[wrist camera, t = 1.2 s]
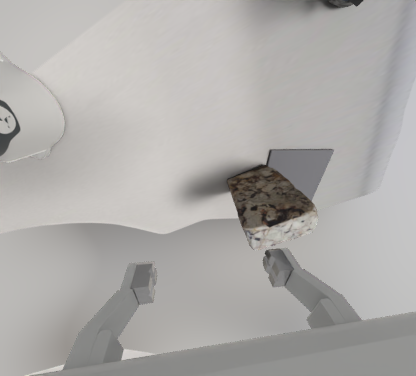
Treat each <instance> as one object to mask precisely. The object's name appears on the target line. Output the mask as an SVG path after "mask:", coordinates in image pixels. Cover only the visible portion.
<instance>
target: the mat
mask: <svg viewBox="0 0 416 376" xmlns="http://www.w3.org/2000/svg"><path fill="white" fill-rule="evenodd" d="M333 152H334V150H333V149H299V150H271V151H270V155H269V159H268V164H267V166H268V167H270V168H274V169H275V170H277V171H278V172H279V173H281V174H282V175H283V176H284V177H285V178H287V179H288V180H289V181H290V182H291V183H292V184H293V185H294V187H295V188H296V189H298V190H300V191H301V192H302V193H303V194H304V195H305V196H306V197H307V198H309V199H310V200H311V201H312V199H313V196H314V194H315V192H316V190H317V187H318V185H319V183H320V181H321V178H322V176H323V174H324V172H325V170H326V167H327V165H328V163H329V161H330V158H331V156H332V154H333Z"/></svg>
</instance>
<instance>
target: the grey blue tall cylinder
mask: <svg viewBox="0 0 416 376" xmlns="http://www.w3.org/2000/svg"><path fill="white" fill-rule="evenodd" d="M328 1H329V2H330V3H332V4H333V5H335V6H337V7H348V6H351V5H353V4H354V5H355V6H358V5H359V4H360V3H361V2H362V1H363V0H328Z"/></svg>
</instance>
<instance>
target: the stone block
mask: <svg viewBox="0 0 416 376" xmlns="http://www.w3.org/2000/svg"><path fill="white" fill-rule="evenodd" d="M227 183H228V186H229V189H230V192H231V195H232V198H233V201H234V203H235V206H236V209H237V212H238V217H239V220H240V223H241V225H242V227H243V230H244V232H245V234H246V237H247V240H248V242H249V245H250V246H251V247H252V249H253V250H260V249H263V248H266V247H269V246H273V245H276V244H278V243H281V242H284V241H287V240H292V239H295V238H298V237H301V236H303V235H307V234H309V233H312V232H313V230H314V228H315V227H316V224H317V219H318V215H317V209H316V207H315V205H314V204H313V203H312V201H311V200H310V199H309V198H307V197H306V196H305V195H304V194H303V193H302V192H301V191H300V190H298V189H296V188H295V187H294V185H293V184H292V183H291V182H290V181H289V180H288V179H287V178H285V177H284V176H283V175H282V174H281V173H279V172H278V171H277V170H275V169H274V168H270V167H268V166H266V165H264V166H260V167H258V168H256V169H253V170H251V171H248V172H245V173H243V174H240V175H237V176H235V177H233V178H230V179H228V180H227Z"/></svg>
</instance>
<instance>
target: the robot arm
mask: <svg viewBox="0 0 416 376" xmlns="http://www.w3.org/2000/svg"><path fill="white" fill-rule="evenodd" d="M64 129H65V121H64V116H63V113H62V110H61V108H60V106H59V104H58V102H57V100H56V99H55V97H54V96H53V95H52V93H51V92H50V91H49V90H48V89H47V88H46V87H45V86H44V85H43V84H42V83H41V82H40V81H39V80H37V79H36V78H35V77H33V76H32V75H30V74H29V73H27V72H26V71H24V70H22V69H20V68H19V67H17V66H16V65H14V64H13V63H11V62H10V61H9V60H8V59H7V58H6V57H5V56H4V55H3V54H2V53H1V52H0V161H4V162H5V163H10V162H14V161H17V160H20V159H23V158H26V157H31V158H38V159H43V158H46V157H48V156H49V154H50V151H51V147H52V146H53V145H54V144H55V143H57V142H58V141H59V140H60V139H61V137H62V135H63V133H64ZM265 255H266V256H265V257H264V258H263V266H264V268H265V271H266V272H267V273H268V274H269V280H270V282H271V284H272V286H273V287H280V286H285V287H286V288H287V289H288V290H289V291H290V292H291V293H292V294H293V295H294V296H295V297H296V298H297V299H298V300H299V301H300V302H301V303H302V304H303V305H304V306H305V307H306V308H307V309H308V310H309V311H311V313H310V315H309V316H308V317H307V321H308V323H309V325H310V327H311V329H308V330H302V331H296V332H290V333H284V334H278V335H272V336H266V337H260V338H254V339H248V340H242V341H237V342H230V343H224V344H218V345H212V346H205V347H200V348H193V349H187V350H181V351H175V352H170V353H163V354H157V355H151V356H145V357H139V358H133V359H127V360H121V358H122V354H123V347H122V346H121V344H120V343H119V341H118V340H117V339H118V337H119V336H120V334H121V333H122V331H123V329H124V328H125V326H126V325H127V323H128V322H129V320H130V319H131V317H132V316H133V314H134V313H135V311H136V310H137V308H138V306H139V305H141V304H147V303H153V301H154V295H155V289H154V286H155V284H156V280H157V270H156V268H155V262H154V261H151V262H139V263H130V264H129V265H128V267H127V270H126V274H125V277H124V280H123V283H122V286H121V289H120V290H118V291H117V292H116V293H115V294H114V295H113V296H112V297H111V298H110V299H109V300H108V302H107V303H106V304H105V305H104V306H103V307H102V308H101V309H100V310H99V312H97V314H96V315H95V316H94V317H93V318H92V319H91V320H90V321H89V322H88V323H87V325H86V326H85V327H84V328H83V329H82V330H81V331H80V332H79V334H78V336H77V338H76V341H75V343H74V345H73V348H72V350H71V352H70V354H69V357H68V359H67V361H66V364H65V366H64V368H63V370H61V371H55V372H49V373H43V374H37V375H31V376H416V312H411V313H405V314H399V315H393V316H387V317H381V318H375V319H369V320H361V318H360V317H359V316H358V315H357V313H356V312H355V311H354V309H353V308H352V307H351V306H350V304H349V303H348V302H347V300H346V299H345V298H344V297H343V296H342V295H341V294H340V293H338V292H337V291H335V290H334V289H333V288H331V287H330V286H328V285H327V284H325V283H324V282H322V281H321V280H319V279H318V278H317V277H315V276H314V275H312V274H311V273H309V272H308V271H306V270H305V269H302V268H301V267H300V265H299V264H298V262H297V261H296V259H295V258H294V256H293V255H292V253H291V252H290V250H289V249H288V248H282V249H271V250H266V251H265Z"/></svg>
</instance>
